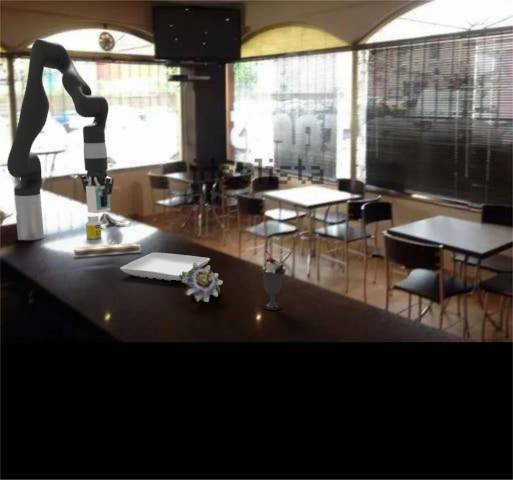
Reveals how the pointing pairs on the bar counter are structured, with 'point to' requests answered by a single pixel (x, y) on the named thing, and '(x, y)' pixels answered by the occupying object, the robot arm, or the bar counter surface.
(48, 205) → the bar counter surface
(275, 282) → the sundae
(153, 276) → the salad plate
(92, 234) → the supplement bottle
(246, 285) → the bar counter surface
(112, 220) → the cloth
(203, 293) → the passion flower
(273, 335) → the bar counter surface
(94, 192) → the carton
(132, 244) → the shelf board
